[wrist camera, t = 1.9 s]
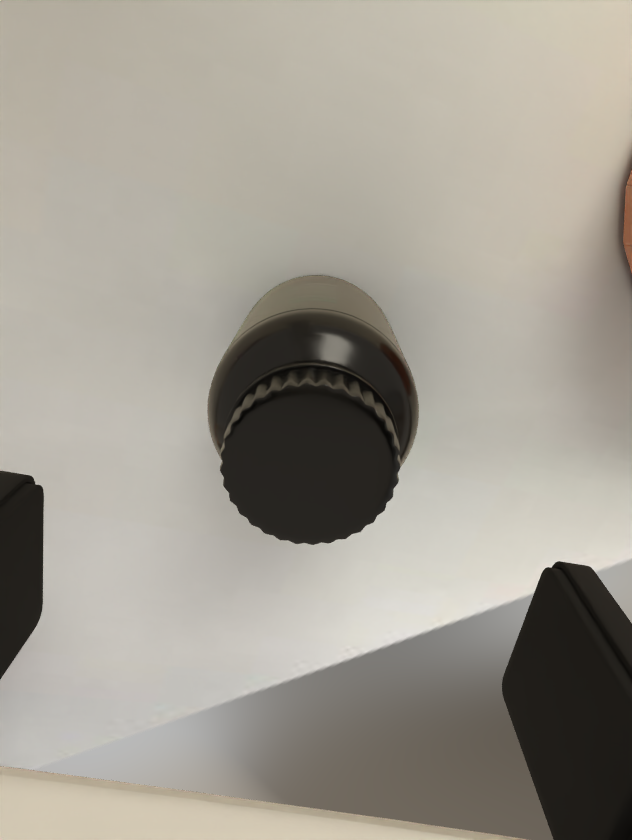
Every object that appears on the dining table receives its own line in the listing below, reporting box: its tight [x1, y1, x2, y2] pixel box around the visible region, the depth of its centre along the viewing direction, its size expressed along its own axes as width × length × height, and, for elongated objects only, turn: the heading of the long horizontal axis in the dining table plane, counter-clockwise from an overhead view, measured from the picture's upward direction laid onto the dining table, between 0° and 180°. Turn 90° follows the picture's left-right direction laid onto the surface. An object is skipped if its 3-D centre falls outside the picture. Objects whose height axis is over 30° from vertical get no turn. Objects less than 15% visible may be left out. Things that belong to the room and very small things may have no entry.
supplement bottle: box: [208, 275, 419, 545], centre depth 21 cm, size 7×7×12 cm
